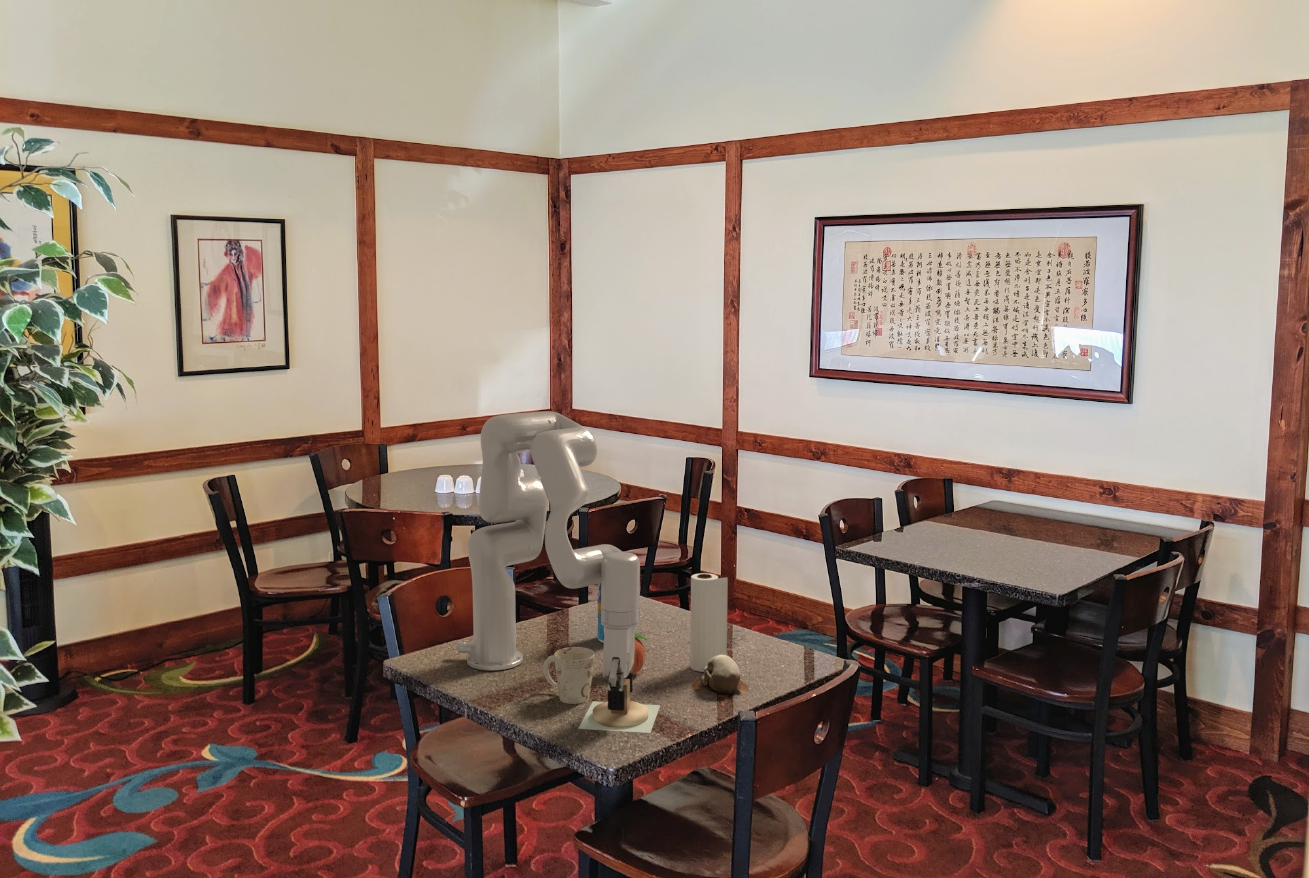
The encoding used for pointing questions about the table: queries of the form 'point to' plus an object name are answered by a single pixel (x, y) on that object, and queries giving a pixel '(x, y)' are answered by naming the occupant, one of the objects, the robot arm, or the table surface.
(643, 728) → the mat
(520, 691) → the table surface
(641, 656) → the fruit
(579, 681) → the mug
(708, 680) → the skull
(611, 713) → the lid
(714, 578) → the paper towel roll
